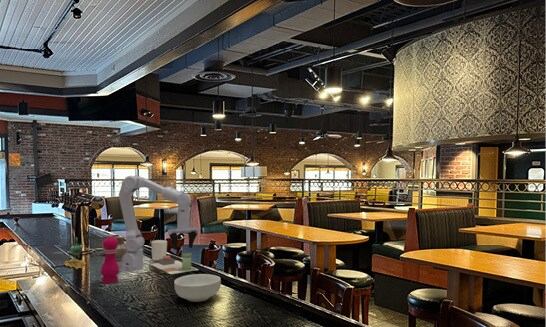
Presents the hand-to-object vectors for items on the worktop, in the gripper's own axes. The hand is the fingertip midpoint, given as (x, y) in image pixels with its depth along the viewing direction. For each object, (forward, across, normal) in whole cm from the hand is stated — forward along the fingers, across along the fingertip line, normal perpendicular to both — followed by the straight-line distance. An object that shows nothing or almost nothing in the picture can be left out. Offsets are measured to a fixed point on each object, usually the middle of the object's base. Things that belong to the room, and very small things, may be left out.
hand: (183, 248), depth 192 cm
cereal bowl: (+10, -13, -41) cm, 45 cm away
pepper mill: (+11, -33, 0) cm, 34 cm away
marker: (+9, +1, -3) cm, 10 cm away
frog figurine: (+11, -38, +40) cm, 56 cm away
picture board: (+10, -2, +6) cm, 12 cm away
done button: (+8, -2, +14) cm, 16 cm away
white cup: (+11, -1, +26) cm, 28 cm away
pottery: (+11, -16, +47) cm, 51 cm away
